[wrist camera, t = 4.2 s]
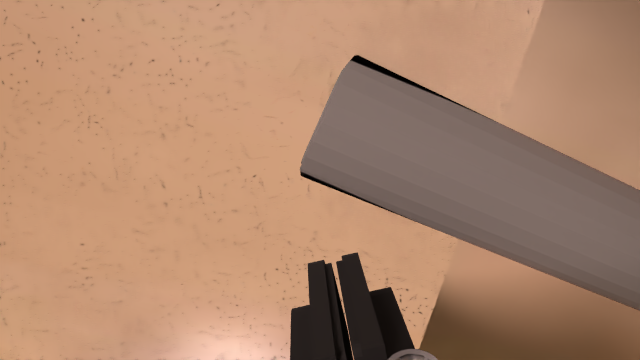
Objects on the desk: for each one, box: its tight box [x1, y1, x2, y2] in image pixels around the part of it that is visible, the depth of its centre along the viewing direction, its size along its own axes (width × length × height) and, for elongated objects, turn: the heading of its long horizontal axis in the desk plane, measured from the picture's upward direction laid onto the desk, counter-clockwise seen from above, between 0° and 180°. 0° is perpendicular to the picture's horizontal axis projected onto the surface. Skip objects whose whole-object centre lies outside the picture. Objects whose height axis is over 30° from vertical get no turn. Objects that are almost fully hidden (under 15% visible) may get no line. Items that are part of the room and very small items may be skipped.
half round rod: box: [300, 55, 640, 310], centre depth 12 cm, size 4×20×2 cm, turn 66°
